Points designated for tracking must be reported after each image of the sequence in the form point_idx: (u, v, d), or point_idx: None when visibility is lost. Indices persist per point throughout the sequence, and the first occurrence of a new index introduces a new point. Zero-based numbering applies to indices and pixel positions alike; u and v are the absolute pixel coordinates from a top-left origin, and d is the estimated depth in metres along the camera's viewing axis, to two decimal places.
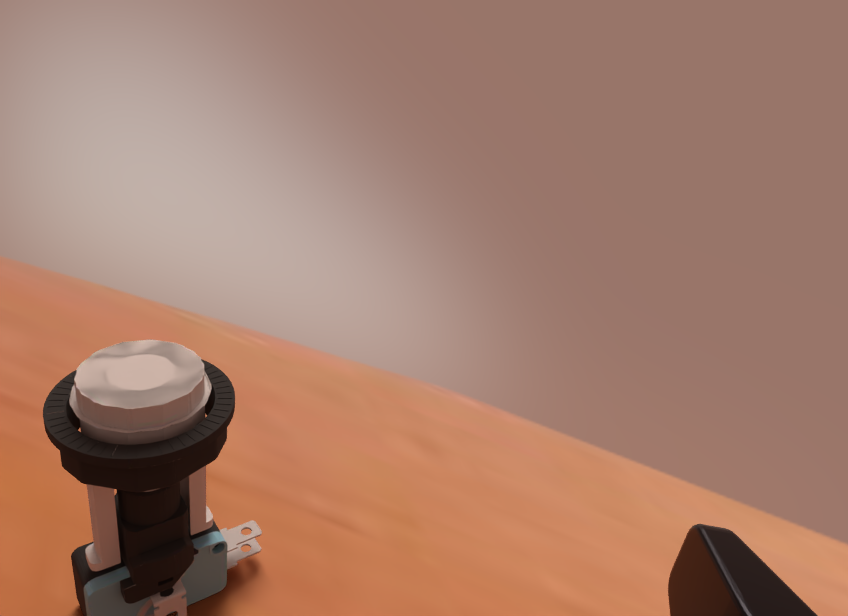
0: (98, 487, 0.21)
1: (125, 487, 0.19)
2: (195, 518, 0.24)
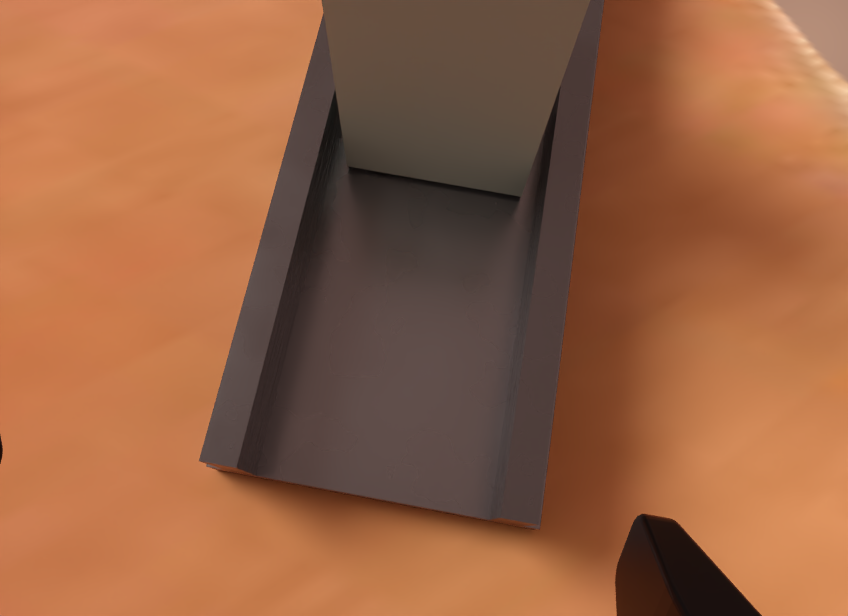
0: None
1: None
2: None
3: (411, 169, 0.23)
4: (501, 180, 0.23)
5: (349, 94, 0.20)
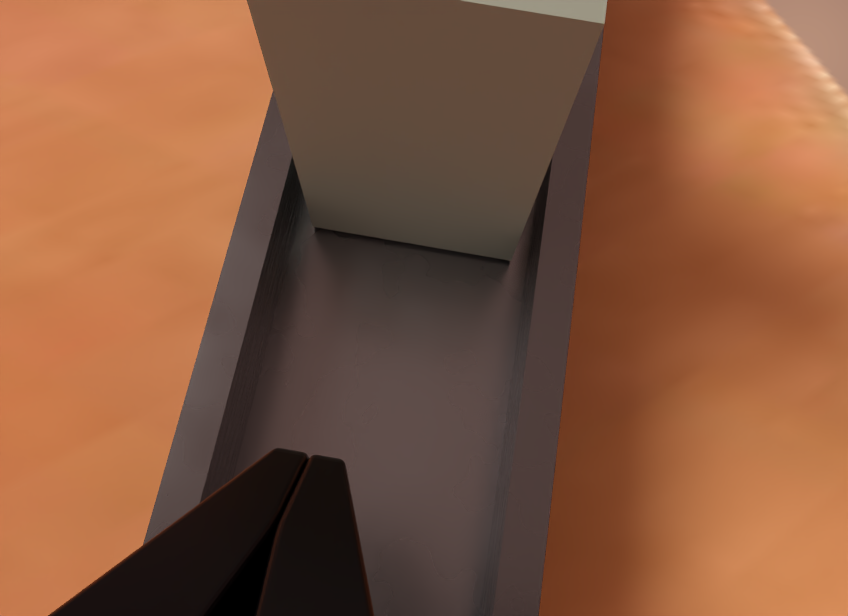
0: None
1: None
2: None
3: (385, 231, 0.20)
4: (488, 244, 0.20)
5: (308, 156, 0.17)
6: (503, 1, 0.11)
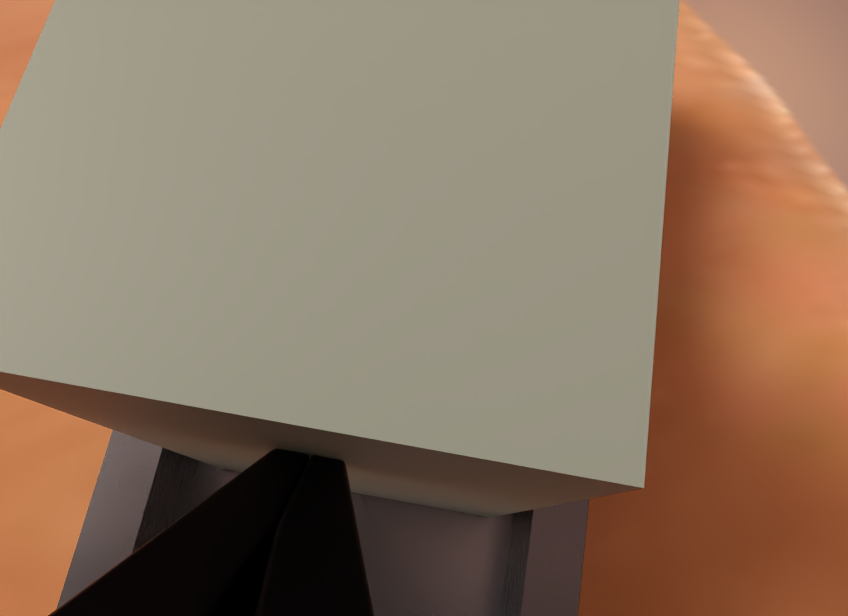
0: None
1: None
2: None
3: None
4: (456, 509, 0.14)
5: (177, 448, 0.11)
6: (438, 435, 0.06)
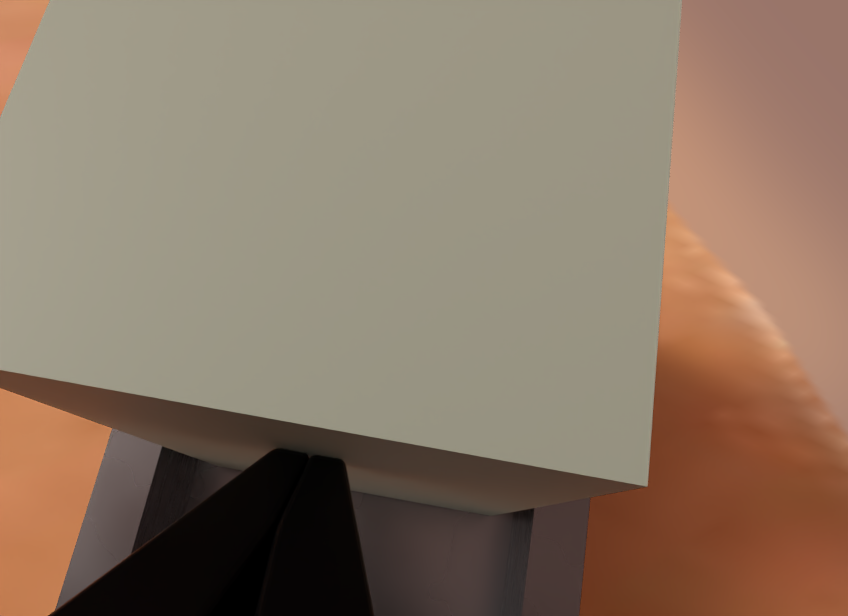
0: None
1: None
2: None
3: None
4: (457, 507, 0.14)
5: (177, 447, 0.11)
6: (440, 433, 0.05)
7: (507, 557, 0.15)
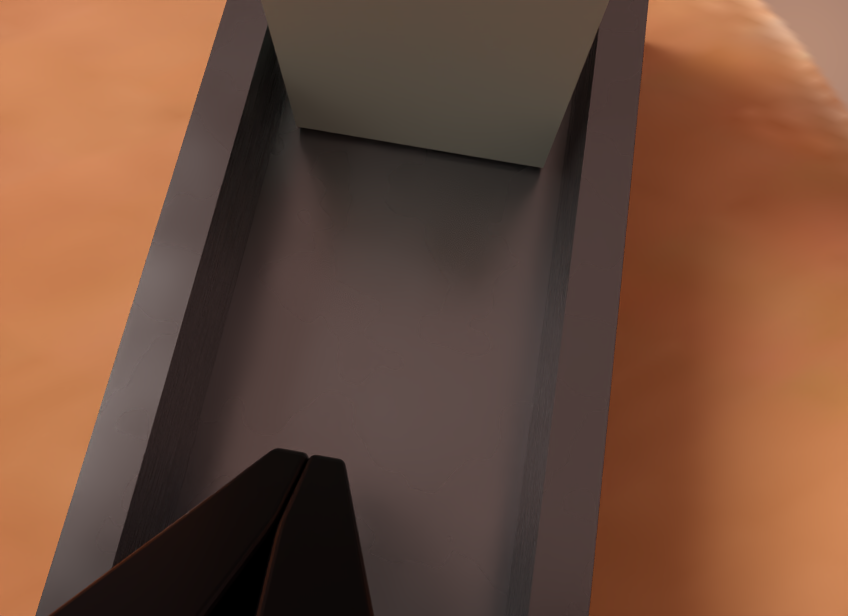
0: None
1: None
2: None
3: (386, 129, 0.16)
4: (515, 144, 0.16)
5: (283, 8, 0.13)
6: None
7: (557, 203, 0.16)
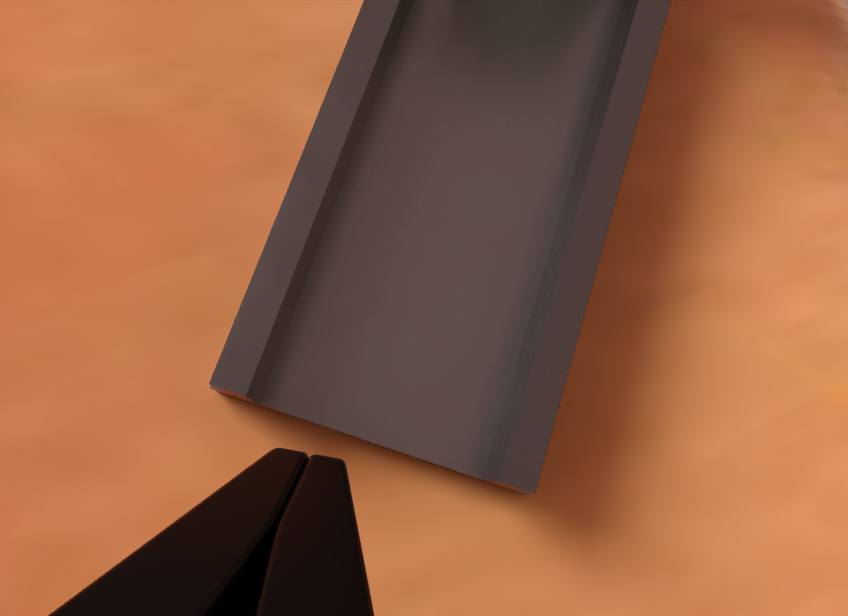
0: None
1: None
2: None
3: None
4: None
5: None
6: None
7: None
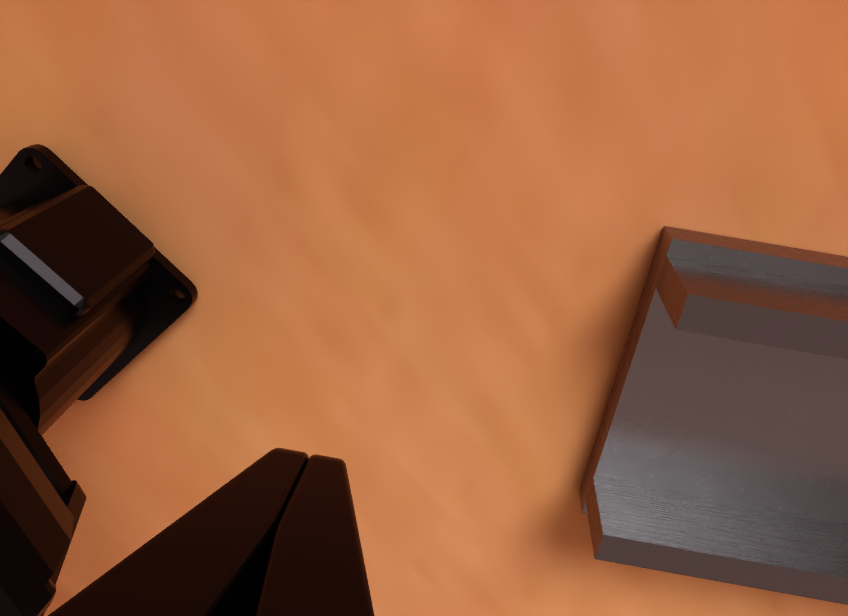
0: None
1: None
2: None
3: None
4: None
5: None
6: None
7: None
